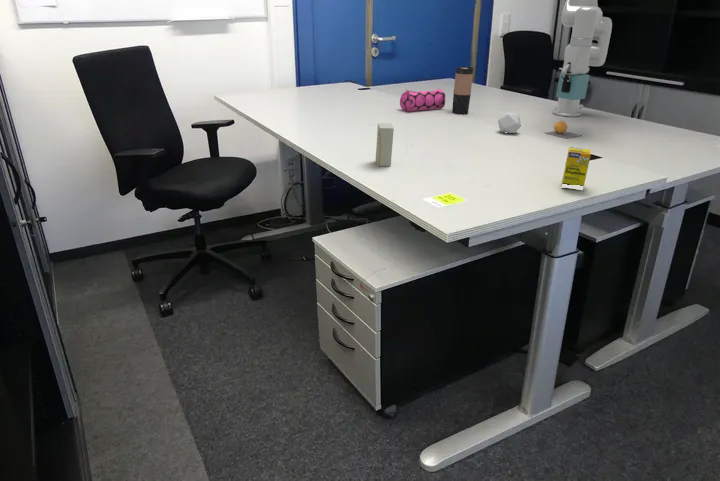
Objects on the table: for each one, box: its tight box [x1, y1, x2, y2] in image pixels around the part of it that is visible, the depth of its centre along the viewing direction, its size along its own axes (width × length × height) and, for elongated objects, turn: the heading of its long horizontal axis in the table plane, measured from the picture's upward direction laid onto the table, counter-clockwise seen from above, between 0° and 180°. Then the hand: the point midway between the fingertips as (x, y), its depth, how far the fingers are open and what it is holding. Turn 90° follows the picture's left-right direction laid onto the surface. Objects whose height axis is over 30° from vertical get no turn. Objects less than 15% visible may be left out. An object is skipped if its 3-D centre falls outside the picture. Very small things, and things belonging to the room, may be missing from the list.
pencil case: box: [399, 88, 446, 113], centre depth 251 cm, size 21×10×10 cm, turn 122°
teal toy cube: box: [555, 72, 590, 100], centre depth 209 cm, size 8×8×9 cm
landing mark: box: [545, 130, 582, 139], centre depth 217 cm, size 10×10×1 cm
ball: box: [553, 120, 568, 134], centre depth 216 cm, size 5×5×5 cm
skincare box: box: [375, 122, 395, 167], centre depth 169 cm, size 6×4×12 cm
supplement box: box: [561, 146, 592, 186], centre depth 154 cm, size 6×6×11 cm
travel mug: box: [451, 66, 474, 115], centre depth 245 cm, size 8×8×20 cm
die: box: [497, 111, 522, 134], centre depth 214 cm, size 8×9×10 cm
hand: (571, 91), depth 210 cm, fingers closed on teal toy cube, 7 cm apart
